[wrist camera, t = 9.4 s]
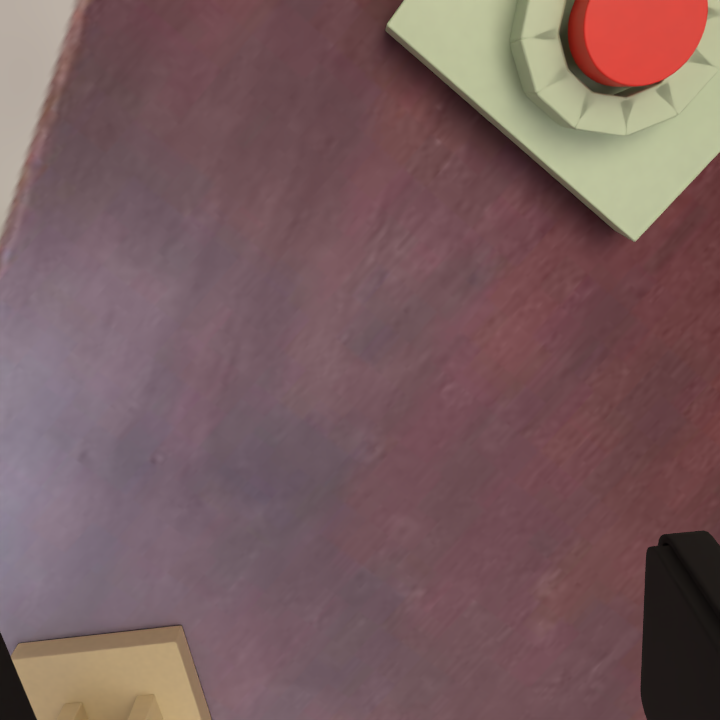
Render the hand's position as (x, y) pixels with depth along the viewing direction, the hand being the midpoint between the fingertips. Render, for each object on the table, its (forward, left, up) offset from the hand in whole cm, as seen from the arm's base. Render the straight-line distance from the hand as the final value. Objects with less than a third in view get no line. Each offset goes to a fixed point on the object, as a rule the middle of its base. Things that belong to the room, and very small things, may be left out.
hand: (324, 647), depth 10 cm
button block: (+1, +13, -20) cm, 24 cm away
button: (+1, +13, -16) cm, 21 cm away
